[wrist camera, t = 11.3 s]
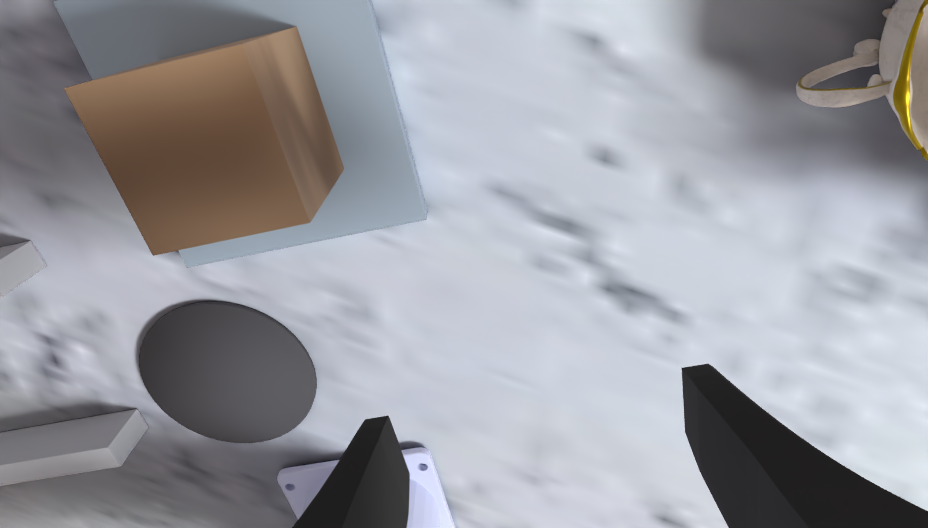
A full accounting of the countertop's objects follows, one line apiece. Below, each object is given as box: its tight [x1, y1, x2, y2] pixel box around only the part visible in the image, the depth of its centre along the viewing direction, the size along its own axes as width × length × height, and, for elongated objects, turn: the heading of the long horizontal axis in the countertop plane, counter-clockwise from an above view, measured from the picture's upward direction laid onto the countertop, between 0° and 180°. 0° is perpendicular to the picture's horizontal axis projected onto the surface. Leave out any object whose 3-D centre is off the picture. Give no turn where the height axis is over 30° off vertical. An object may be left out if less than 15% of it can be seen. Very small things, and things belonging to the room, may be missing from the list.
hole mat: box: [139, 302, 317, 443], centre depth 26 cm, size 8×8×1 cm
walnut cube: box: [64, 26, 344, 256], centre depth 18 cm, size 5×5×5 cm
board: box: [53, 0, 428, 268], centre depth 20 cm, size 10×10×1 cm
